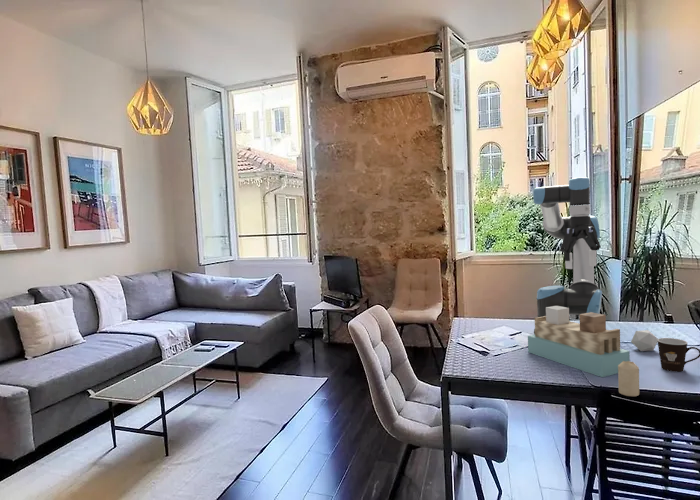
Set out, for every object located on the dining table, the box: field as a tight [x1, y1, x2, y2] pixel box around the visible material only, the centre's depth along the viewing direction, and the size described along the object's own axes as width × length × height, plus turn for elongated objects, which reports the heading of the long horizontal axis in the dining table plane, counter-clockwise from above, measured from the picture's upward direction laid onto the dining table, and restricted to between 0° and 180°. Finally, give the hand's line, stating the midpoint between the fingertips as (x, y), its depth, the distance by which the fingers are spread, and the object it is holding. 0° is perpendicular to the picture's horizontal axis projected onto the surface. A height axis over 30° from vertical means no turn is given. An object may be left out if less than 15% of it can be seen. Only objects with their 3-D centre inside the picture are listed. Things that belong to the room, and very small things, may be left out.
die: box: [630, 329, 659, 352], centre depth 177 cm, size 8×9×10 cm
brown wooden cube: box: [579, 312, 607, 334], centre depth 161 cm, size 6×6×6 cm
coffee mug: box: [657, 337, 700, 373], centre depth 153 cm, size 12×9×10 cm
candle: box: [617, 360, 640, 397], centre depth 137 cm, size 6×6×10 cm
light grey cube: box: [546, 306, 570, 325], centre depth 175 cm, size 6×6×6 cm
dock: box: [527, 334, 631, 378], centre depth 169 cm, size 34×14×7 cm, turn 22°
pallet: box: [534, 316, 621, 355], centre depth 168 cm, size 30×10×8 cm, turn 22°
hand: (581, 267), depth 179 cm, fingers open, 13 cm apart
